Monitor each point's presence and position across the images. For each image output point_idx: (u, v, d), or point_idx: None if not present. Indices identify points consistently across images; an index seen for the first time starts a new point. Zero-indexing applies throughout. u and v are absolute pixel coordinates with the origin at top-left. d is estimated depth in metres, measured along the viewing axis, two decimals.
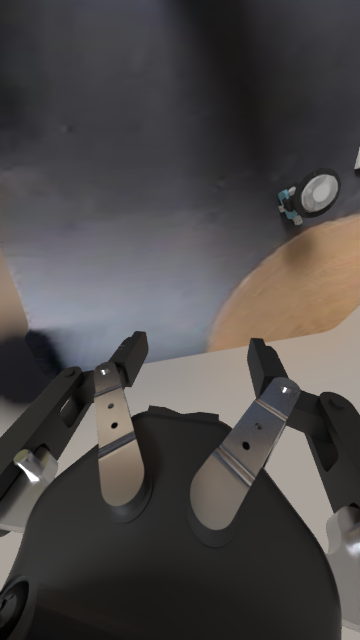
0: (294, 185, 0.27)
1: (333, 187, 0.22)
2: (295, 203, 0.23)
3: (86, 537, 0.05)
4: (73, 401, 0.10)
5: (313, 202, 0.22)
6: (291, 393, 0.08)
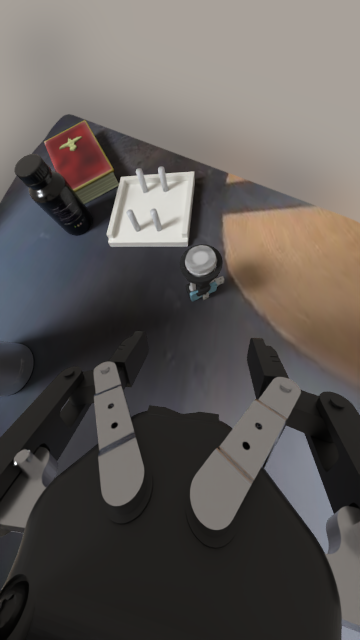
0: (188, 286, 0.28)
1: (198, 249, 0.21)
2: (205, 280, 0.21)
3: (86, 537, 0.05)
4: (73, 401, 0.10)
5: (208, 263, 0.21)
6: (291, 393, 0.08)
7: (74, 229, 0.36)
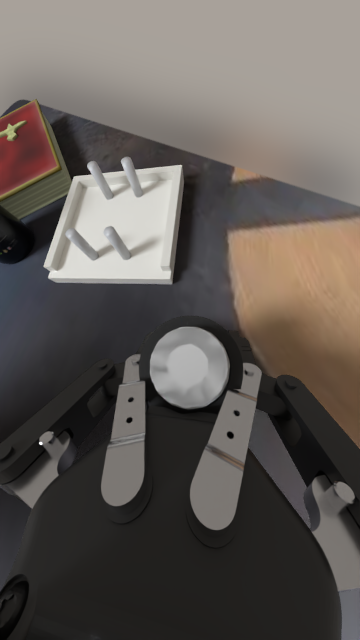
0: None
1: (182, 337, 0.08)
2: None
3: (86, 537, 0.05)
4: (103, 391, 0.10)
5: (207, 384, 0.08)
6: (252, 376, 0.09)
7: (0, 256, 0.24)
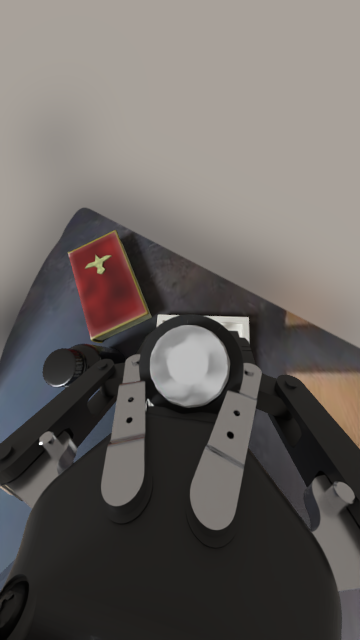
0: None
1: (183, 335, 0.08)
2: None
3: (86, 537, 0.05)
4: (103, 391, 0.10)
5: (207, 382, 0.08)
6: (252, 376, 0.09)
7: None
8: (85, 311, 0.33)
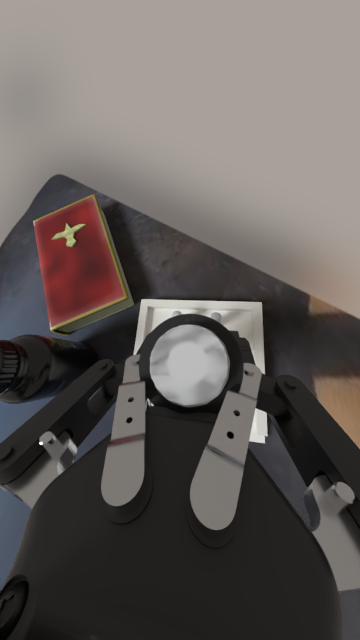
0: None
1: (182, 335, 0.08)
2: None
3: (86, 537, 0.05)
4: (103, 391, 0.10)
5: (207, 381, 0.08)
6: (252, 376, 0.09)
7: None
8: (47, 293, 0.25)
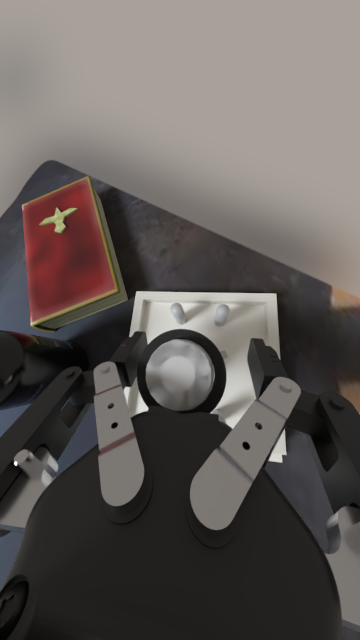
0: None
1: (174, 350, 0.10)
2: None
3: (86, 537, 0.05)
4: (73, 401, 0.10)
5: (193, 390, 0.09)
6: (291, 393, 0.08)
7: None
8: (30, 284, 0.23)
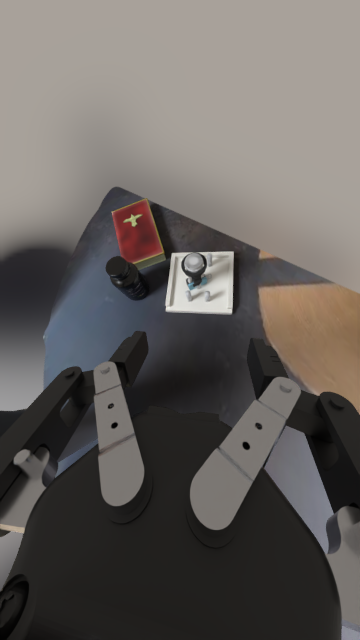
0: (187, 280, 0.42)
1: (192, 255, 0.35)
2: (196, 274, 0.35)
3: (86, 537, 0.05)
4: (73, 401, 0.10)
5: (197, 264, 0.34)
6: (291, 393, 0.08)
7: (137, 298, 0.45)
8: (121, 250, 0.48)
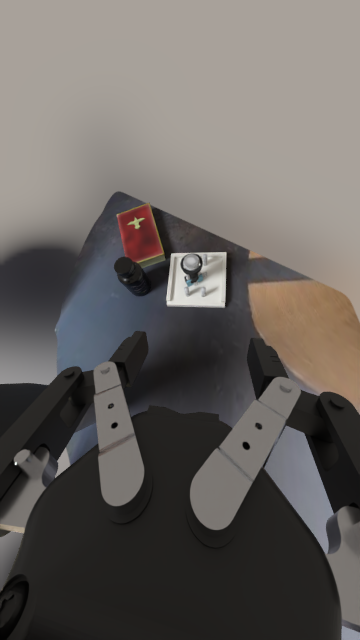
0: (185, 277, 0.47)
1: (190, 256, 0.40)
2: (193, 272, 0.40)
3: (86, 537, 0.05)
4: (73, 401, 0.10)
5: (194, 263, 0.40)
6: (291, 393, 0.08)
7: (140, 293, 0.50)
8: (125, 250, 0.53)
